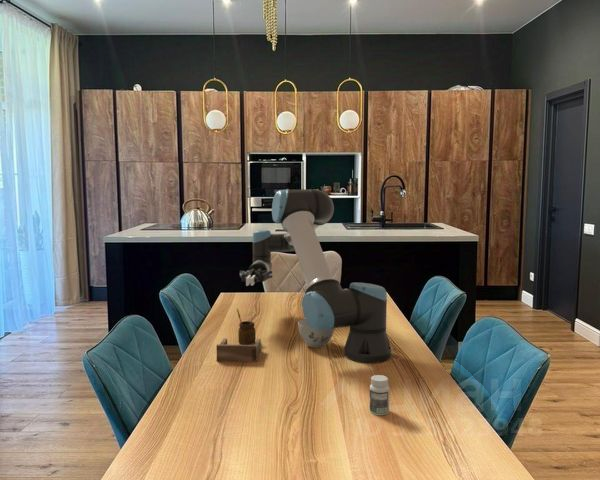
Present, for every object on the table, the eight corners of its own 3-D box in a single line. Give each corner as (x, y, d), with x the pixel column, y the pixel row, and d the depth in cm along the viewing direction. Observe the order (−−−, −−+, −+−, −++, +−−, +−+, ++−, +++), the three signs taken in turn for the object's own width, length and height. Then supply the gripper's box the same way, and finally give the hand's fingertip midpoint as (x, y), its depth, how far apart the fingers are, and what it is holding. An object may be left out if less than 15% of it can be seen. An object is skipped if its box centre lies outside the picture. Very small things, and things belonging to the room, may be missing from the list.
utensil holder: (254, 345, 174) (254, 311, 173) (236, 345, 175) (235, 311, 173) (256, 340, 180) (256, 306, 179) (238, 340, 180) (238, 306, 179)
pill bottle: (375, 405, 127) (376, 372, 126) (392, 410, 124) (393, 377, 123) (365, 412, 123) (366, 378, 122) (382, 417, 120) (383, 383, 119)
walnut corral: (223, 350, 169) (223, 335, 169) (260, 350, 169) (260, 336, 168) (216, 361, 159) (216, 345, 158) (256, 361, 158) (256, 346, 158)
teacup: (333, 351, 167) (333, 328, 166) (295, 350, 169) (295, 327, 168) (335, 338, 182) (335, 316, 181) (301, 337, 184) (301, 315, 183)
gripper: (275, 280, 206) (268, 292, 183) (241, 279, 207) (230, 292, 183) (275, 261, 205) (268, 271, 182) (241, 261, 206) (229, 271, 183)
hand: (249, 282), depth 183 cm, fingers closed
